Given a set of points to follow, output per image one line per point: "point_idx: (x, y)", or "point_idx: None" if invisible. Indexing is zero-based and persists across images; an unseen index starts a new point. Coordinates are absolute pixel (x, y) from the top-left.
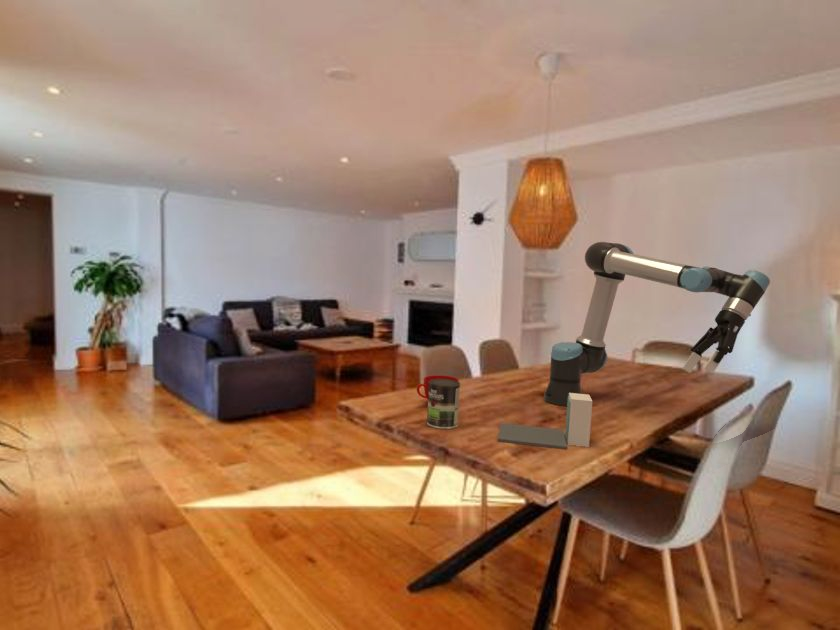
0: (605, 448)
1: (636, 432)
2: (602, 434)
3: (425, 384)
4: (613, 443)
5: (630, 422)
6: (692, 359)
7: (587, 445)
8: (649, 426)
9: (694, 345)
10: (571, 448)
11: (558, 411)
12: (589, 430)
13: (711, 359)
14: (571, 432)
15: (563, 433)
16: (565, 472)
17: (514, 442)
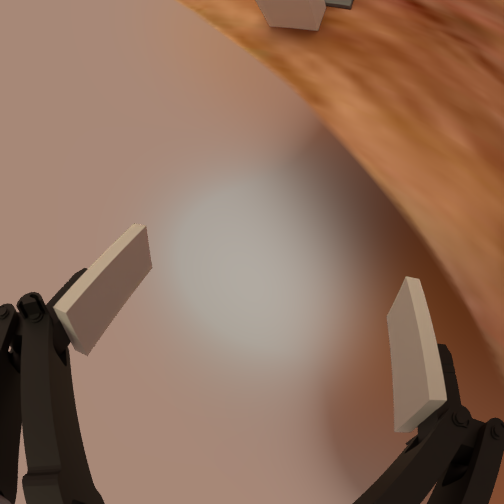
0: (265, 47)
1: (377, 147)
2: (350, 65)
3: None
4: (293, 66)
5: (458, 181)
6: (410, 360)
7: (269, 23)
8: (430, 216)
9: (498, 469)
10: None
11: (497, 56)
12: (259, 6)
13: (96, 264)
14: None
15: (326, 1)
16: (185, 2)
17: None
